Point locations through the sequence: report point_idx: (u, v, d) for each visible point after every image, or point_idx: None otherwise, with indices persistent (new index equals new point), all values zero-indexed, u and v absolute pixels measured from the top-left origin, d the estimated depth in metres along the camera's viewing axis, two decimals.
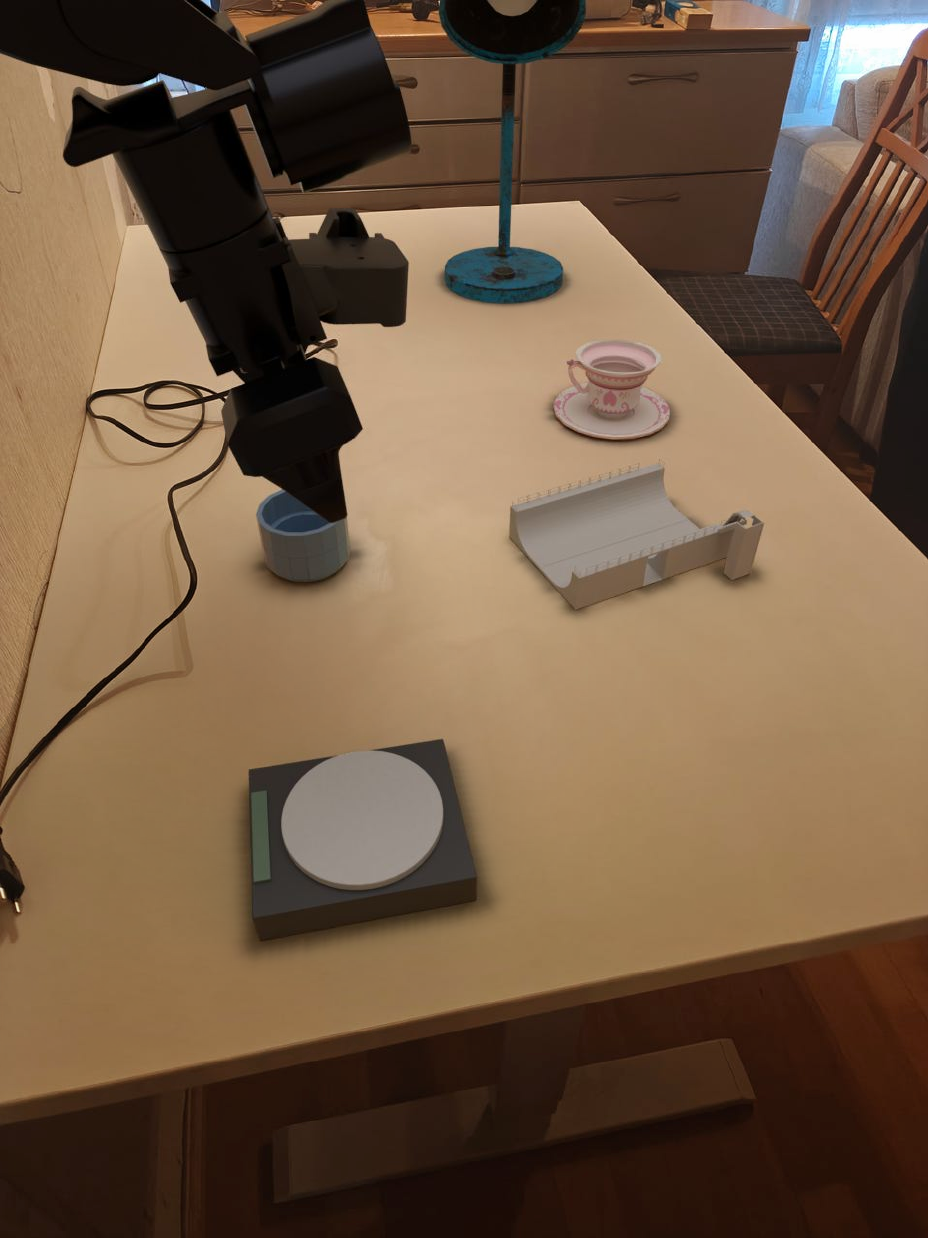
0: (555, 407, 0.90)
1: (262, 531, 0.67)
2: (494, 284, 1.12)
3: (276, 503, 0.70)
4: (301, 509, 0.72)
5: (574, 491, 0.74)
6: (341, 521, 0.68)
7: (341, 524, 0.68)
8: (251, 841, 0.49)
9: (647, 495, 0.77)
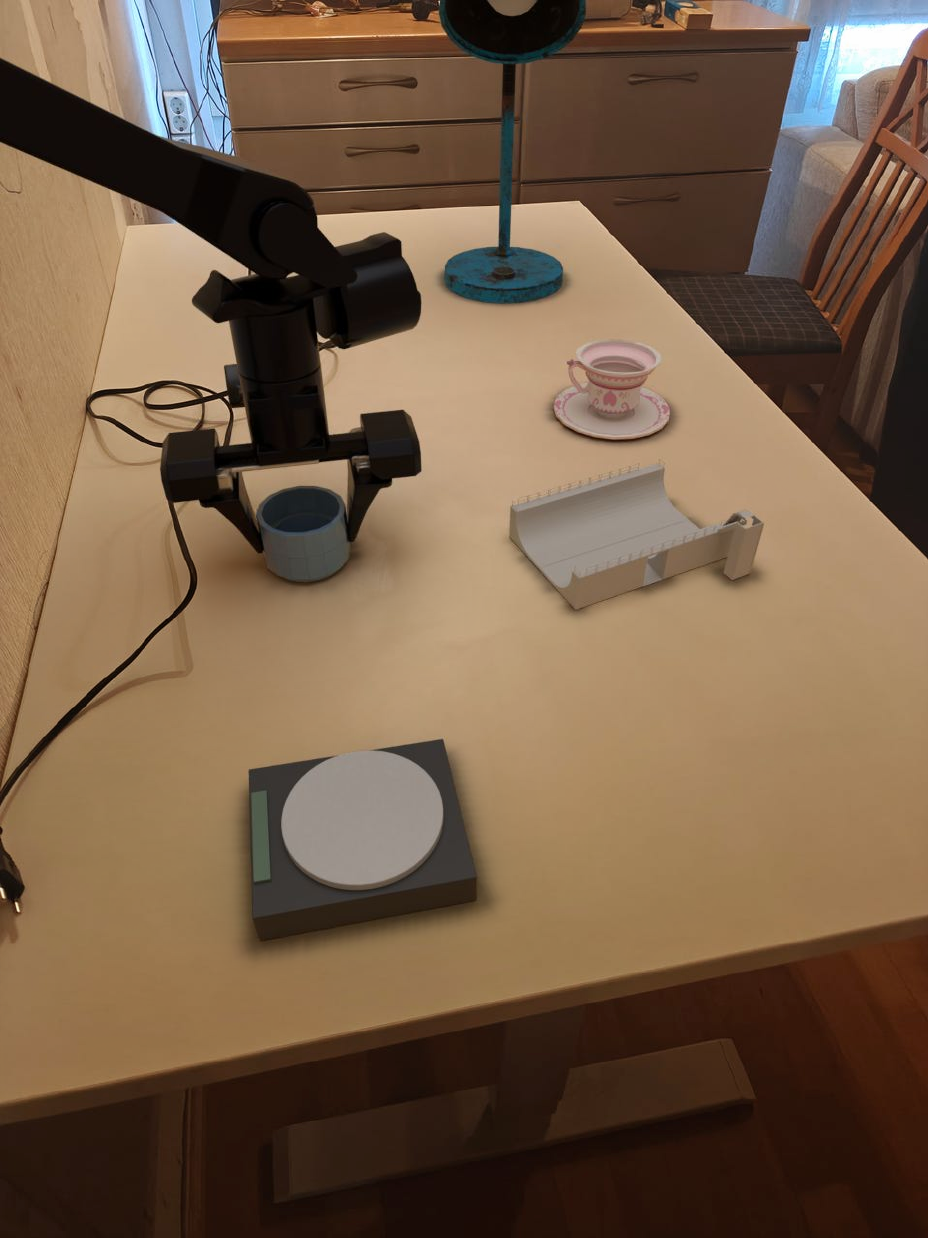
0: (555, 407, 0.90)
1: (262, 531, 0.67)
2: (494, 284, 1.12)
3: (276, 503, 0.70)
4: (301, 509, 0.72)
5: (575, 491, 0.74)
6: (341, 521, 0.68)
7: (341, 524, 0.68)
8: (251, 841, 0.49)
9: (647, 495, 0.77)
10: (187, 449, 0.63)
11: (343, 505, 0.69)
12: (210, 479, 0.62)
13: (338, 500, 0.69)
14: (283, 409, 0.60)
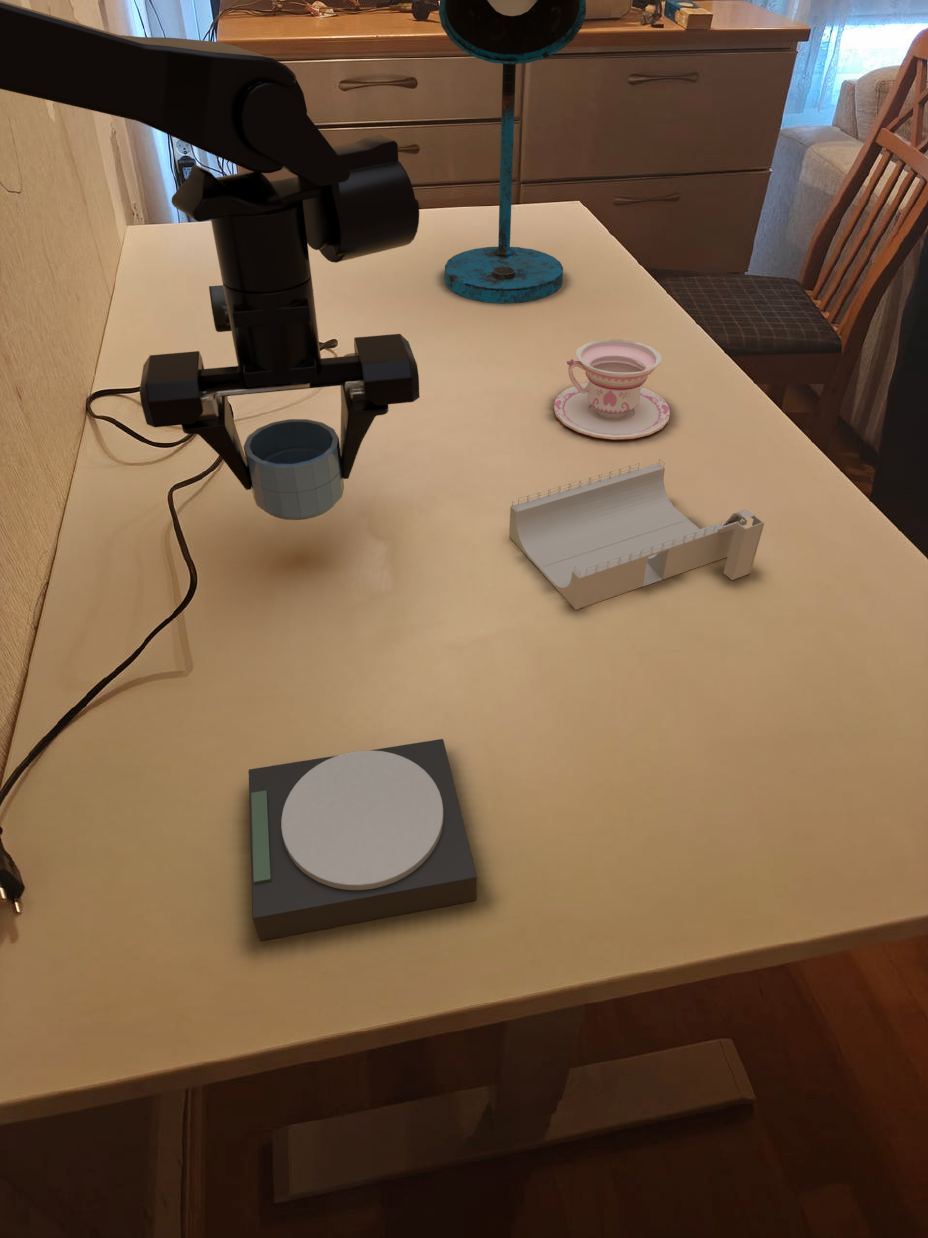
0: (555, 407, 0.90)
1: (250, 463, 0.63)
2: (494, 284, 1.12)
3: (265, 437, 0.66)
4: (292, 445, 0.68)
5: (575, 491, 0.74)
6: (334, 453, 0.64)
7: (334, 457, 0.64)
8: (251, 841, 0.49)
9: (648, 495, 0.77)
10: (169, 370, 0.59)
11: (336, 437, 0.65)
12: (193, 401, 0.58)
13: (331, 433, 0.65)
14: (271, 323, 0.56)
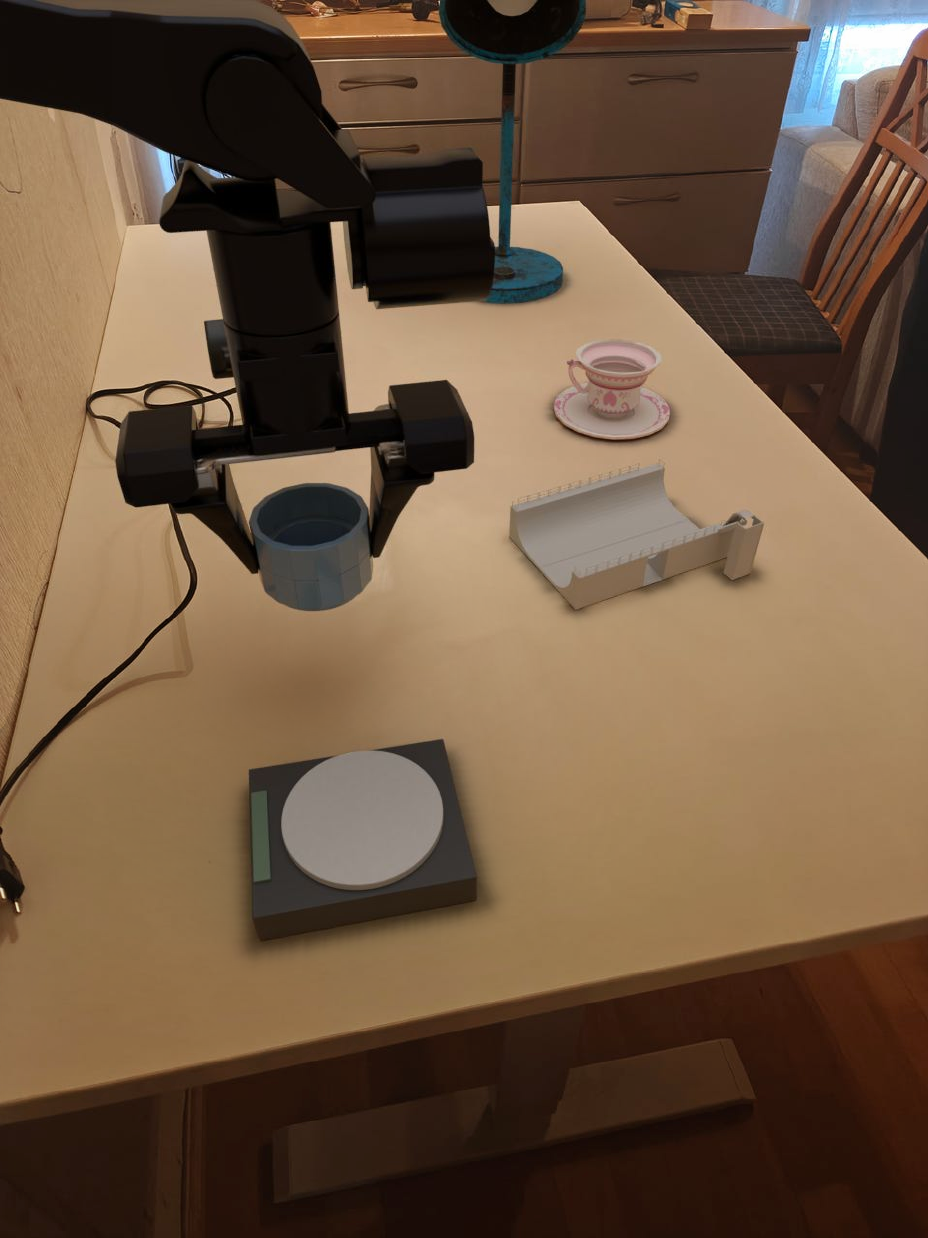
0: (555, 407, 0.90)
1: (257, 544, 0.50)
2: (494, 284, 1.12)
3: (275, 506, 0.53)
4: (308, 514, 0.55)
5: (575, 491, 0.74)
6: (363, 530, 0.51)
7: (363, 534, 0.51)
8: (251, 841, 0.49)
9: (648, 495, 0.77)
10: (153, 433, 0.45)
11: (365, 508, 0.52)
12: (186, 474, 0.44)
13: (358, 502, 0.52)
14: (288, 375, 0.42)
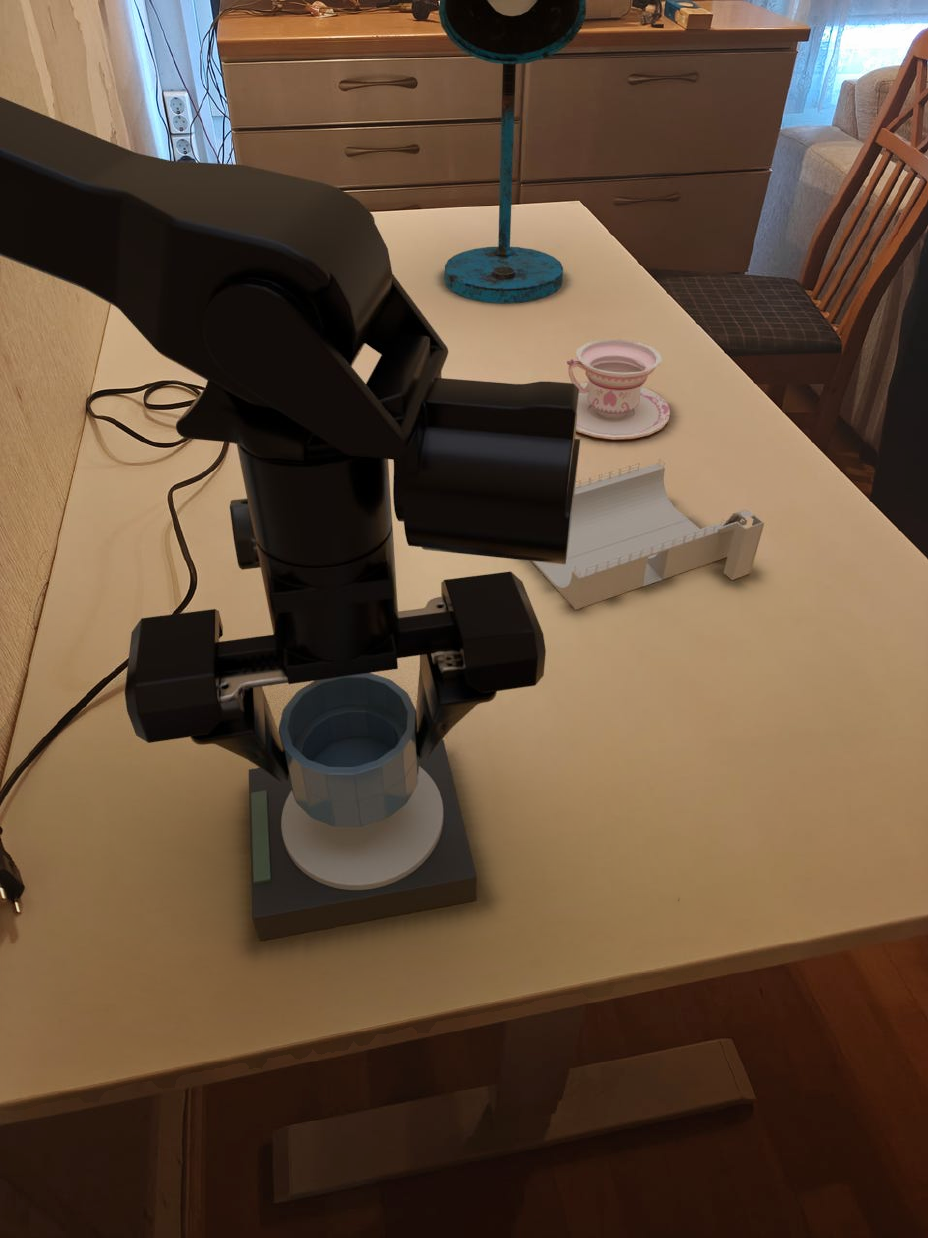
0: None
1: (288, 759, 0.43)
2: (494, 284, 1.12)
3: (308, 701, 0.46)
4: (345, 704, 0.48)
5: (575, 491, 0.74)
6: (411, 741, 0.44)
7: (411, 745, 0.44)
8: (251, 841, 0.49)
9: (648, 495, 0.77)
10: (170, 654, 0.38)
11: (413, 712, 0.45)
12: (207, 708, 0.37)
13: (404, 702, 0.45)
14: (331, 604, 0.35)
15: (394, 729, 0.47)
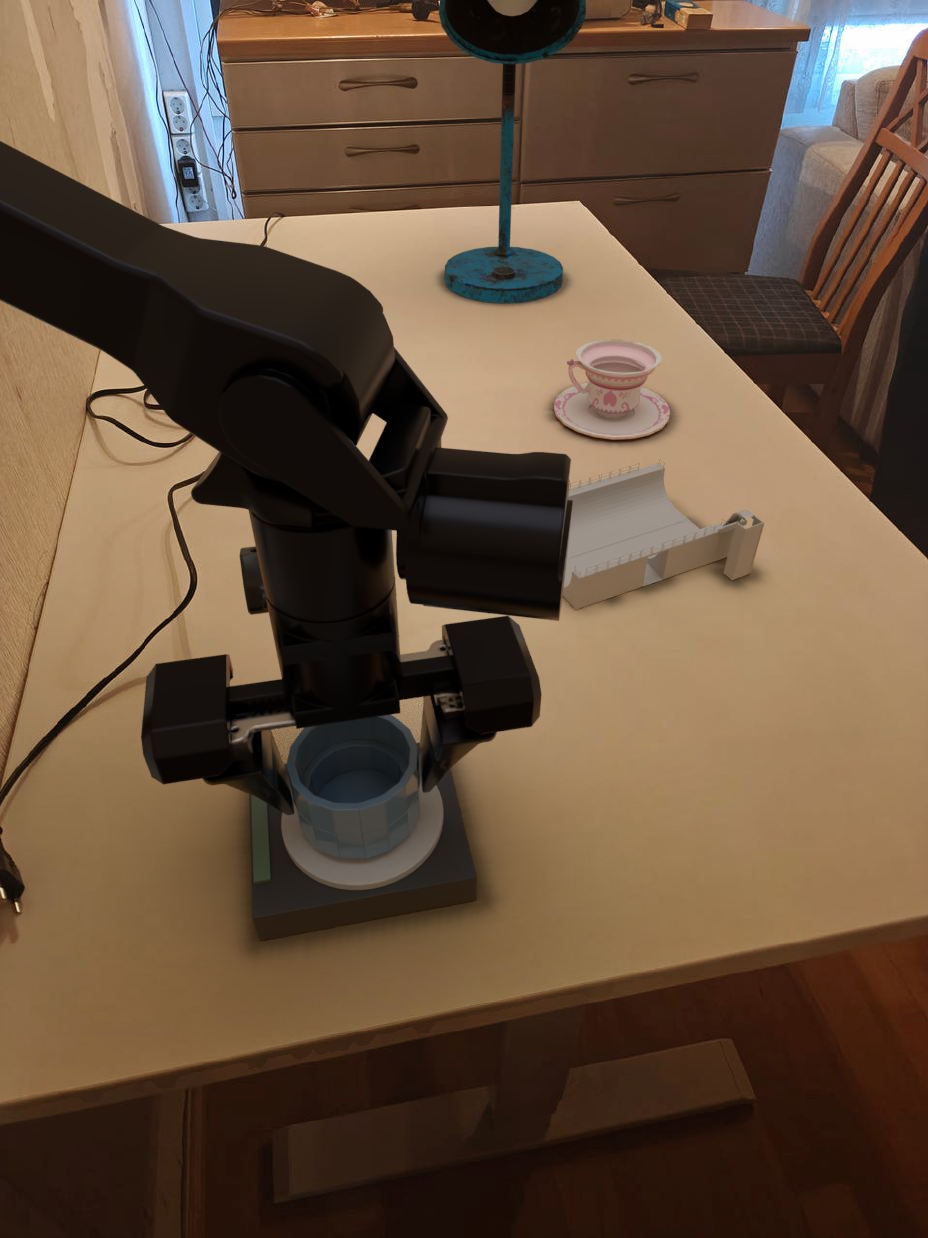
0: (555, 407, 0.90)
1: (296, 795, 0.45)
2: (494, 284, 1.12)
3: (315, 737, 0.48)
4: (349, 738, 0.50)
5: (575, 491, 0.74)
6: (413, 777, 0.46)
7: (413, 781, 0.46)
8: (251, 841, 0.49)
9: (648, 495, 0.77)
10: (184, 700, 0.40)
11: (415, 748, 0.47)
12: (220, 752, 0.39)
13: (407, 738, 0.47)
14: (337, 656, 0.37)
15: (397, 763, 0.49)
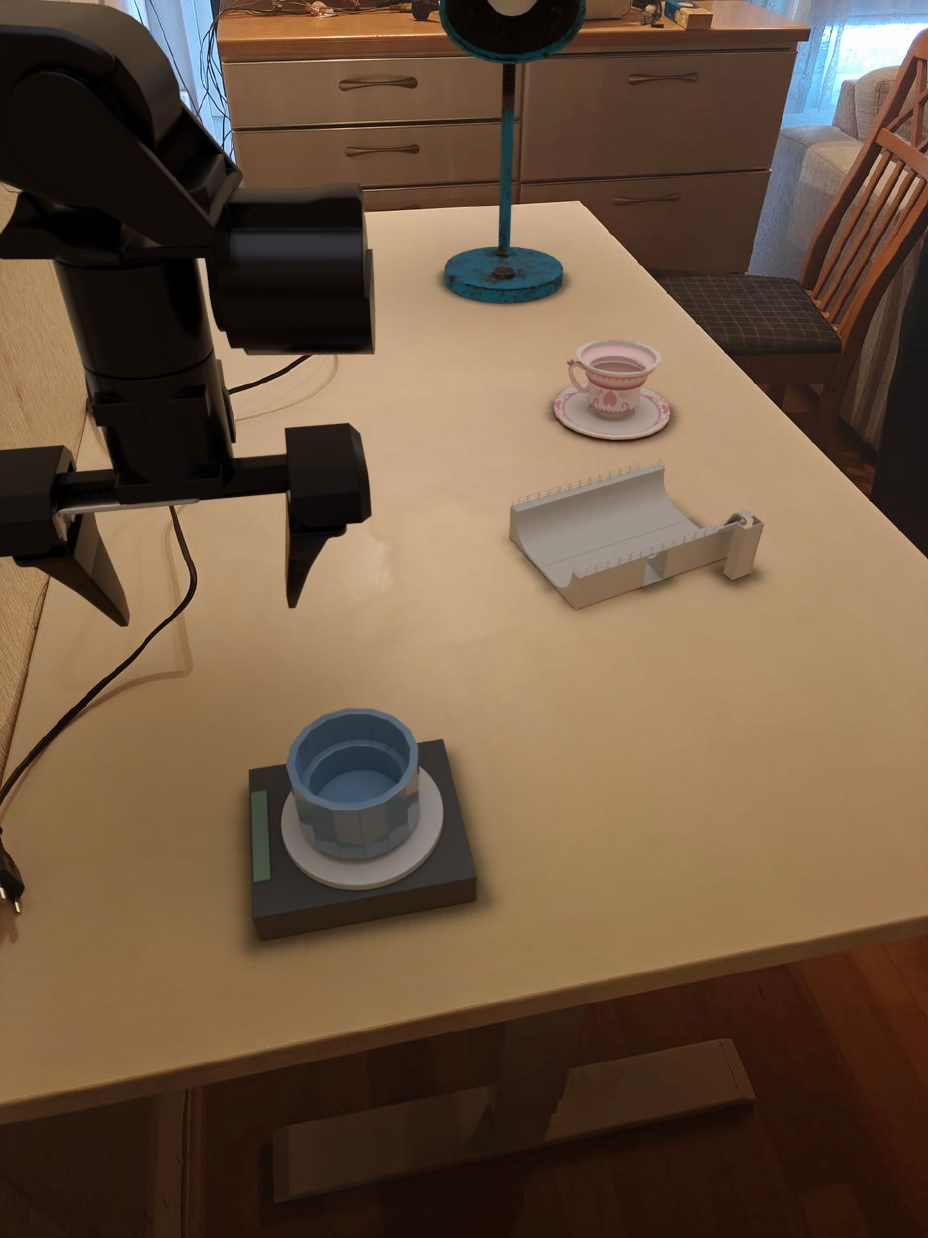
0: (555, 407, 0.90)
1: (296, 795, 0.45)
2: (494, 284, 1.12)
3: (315, 737, 0.48)
4: (349, 738, 0.50)
5: (575, 491, 0.74)
6: (413, 777, 0.46)
7: (413, 781, 0.46)
8: (251, 841, 0.49)
9: (648, 495, 0.77)
10: (12, 477, 0.41)
11: (415, 748, 0.47)
12: (43, 524, 0.40)
13: (407, 738, 0.47)
14: (150, 420, 0.38)
15: (397, 763, 0.49)
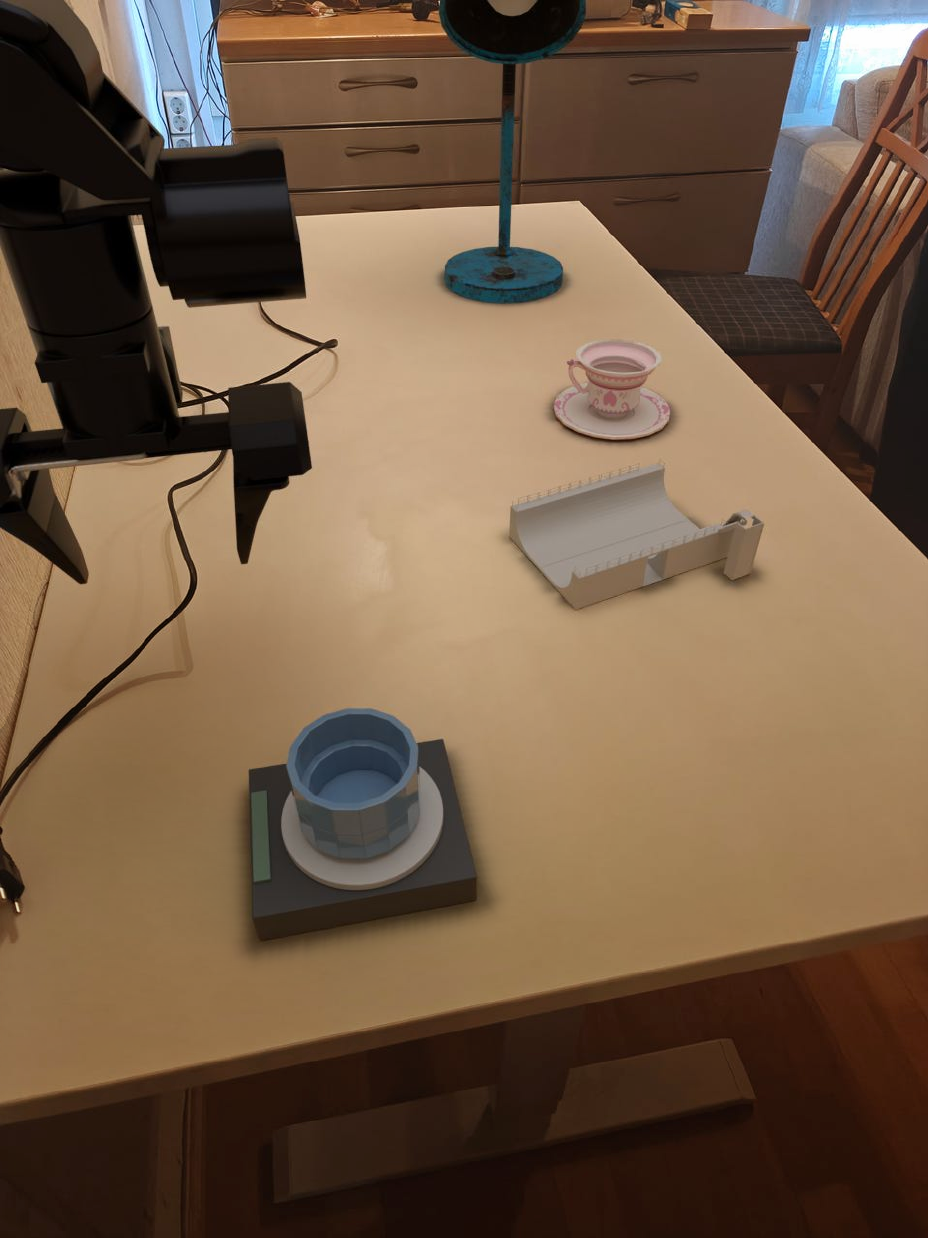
0: (555, 407, 0.90)
1: (296, 795, 0.45)
2: (494, 284, 1.12)
3: (315, 737, 0.48)
4: (349, 738, 0.50)
5: (575, 491, 0.74)
6: (413, 777, 0.46)
7: (413, 781, 0.46)
8: (251, 841, 0.49)
9: (648, 495, 0.77)
10: None
11: (415, 748, 0.47)
12: None
13: (407, 738, 0.47)
14: (92, 376, 0.40)
15: (397, 763, 0.49)
